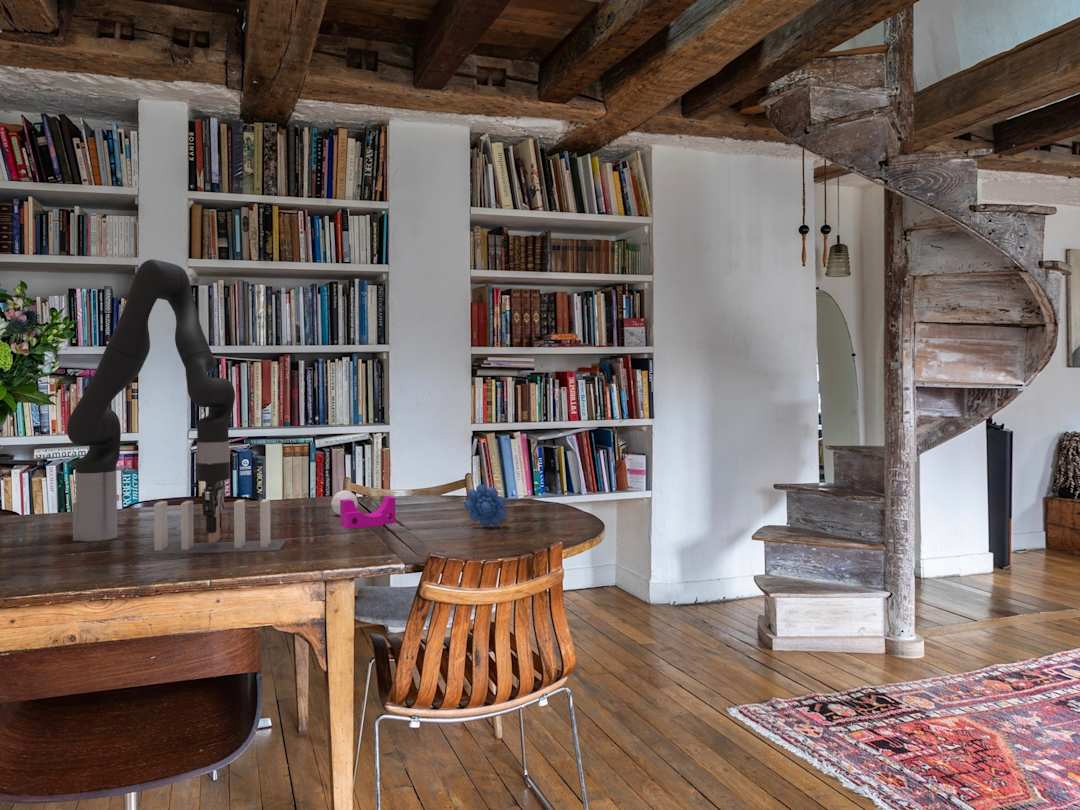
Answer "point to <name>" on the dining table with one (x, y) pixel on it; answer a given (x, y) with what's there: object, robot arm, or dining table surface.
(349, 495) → the geometric ball
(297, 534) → the dining table surface
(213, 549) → the domino mat
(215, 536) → the domino
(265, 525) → the domino
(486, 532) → the dining table surface
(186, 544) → the domino
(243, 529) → the domino
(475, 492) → the blue flower rosette
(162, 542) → the domino
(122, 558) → the dining table surface
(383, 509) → the toy block
